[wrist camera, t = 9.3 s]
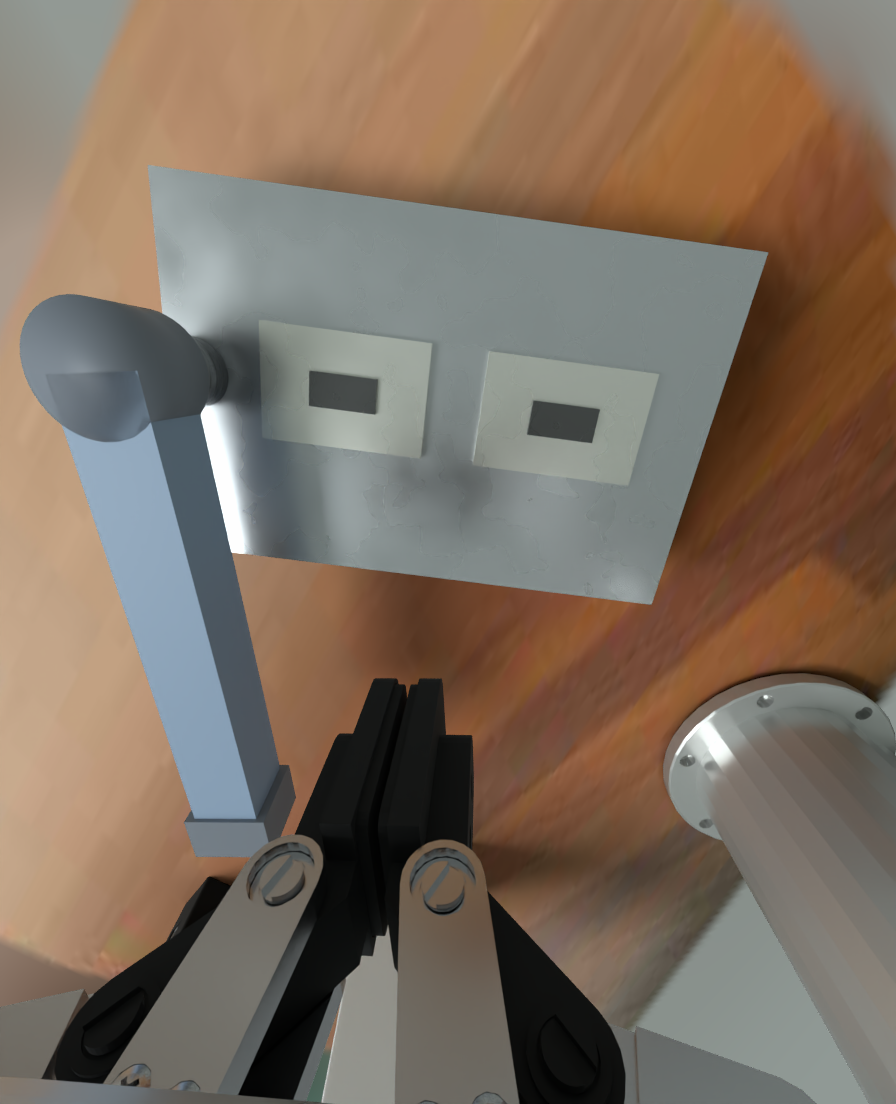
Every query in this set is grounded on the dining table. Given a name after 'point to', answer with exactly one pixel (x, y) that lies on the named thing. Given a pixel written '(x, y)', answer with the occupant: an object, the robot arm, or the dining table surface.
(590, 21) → the dining table surface
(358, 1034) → the milk
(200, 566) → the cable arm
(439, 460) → the plate
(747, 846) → the robot arm
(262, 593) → the dining table surface
